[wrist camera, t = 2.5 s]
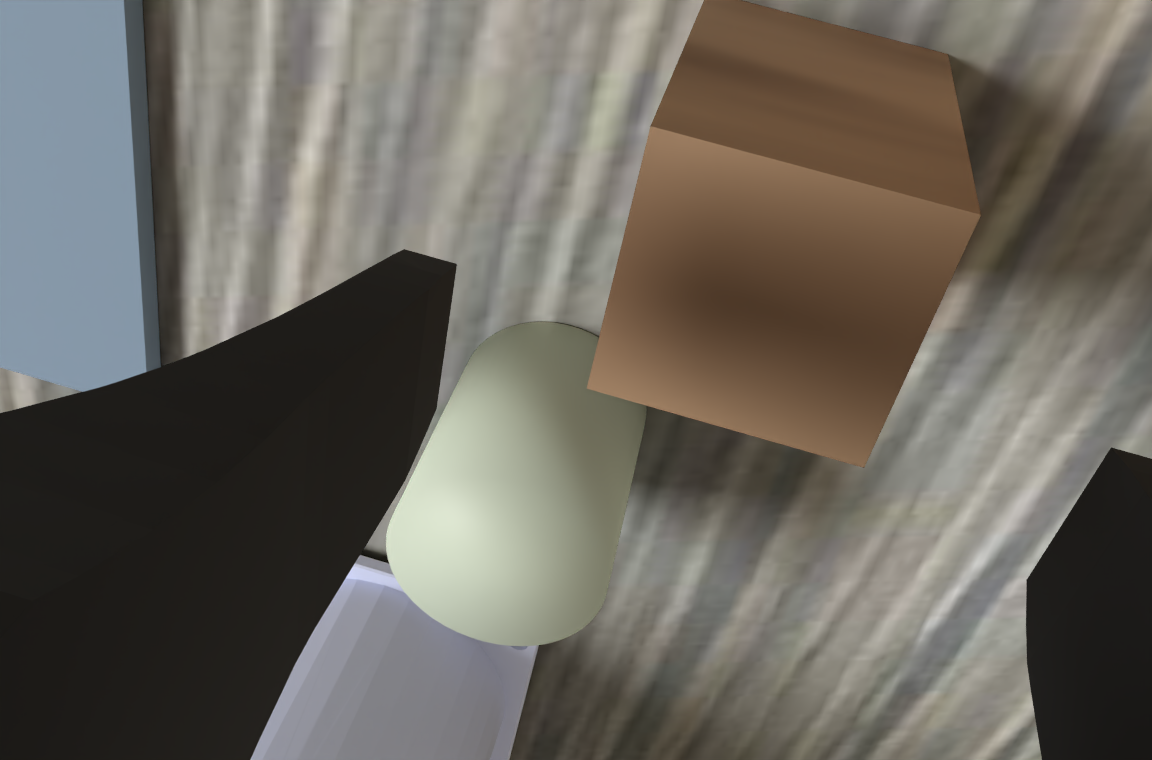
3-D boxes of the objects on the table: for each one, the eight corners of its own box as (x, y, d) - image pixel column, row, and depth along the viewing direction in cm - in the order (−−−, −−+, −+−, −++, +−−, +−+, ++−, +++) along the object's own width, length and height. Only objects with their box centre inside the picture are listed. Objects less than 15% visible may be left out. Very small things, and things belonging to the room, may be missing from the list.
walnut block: (863, 264, 20) (864, 467, 15) (652, 206, 20) (585, 388, 15) (948, 53, 18) (981, 214, 13) (708, -9, 18) (650, 126, 13)
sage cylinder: (627, 494, 24) (587, 668, 20) (453, 451, 24) (379, 614, 20) (664, 348, 22) (628, 511, 18) (471, 301, 22) (392, 452, 18)
